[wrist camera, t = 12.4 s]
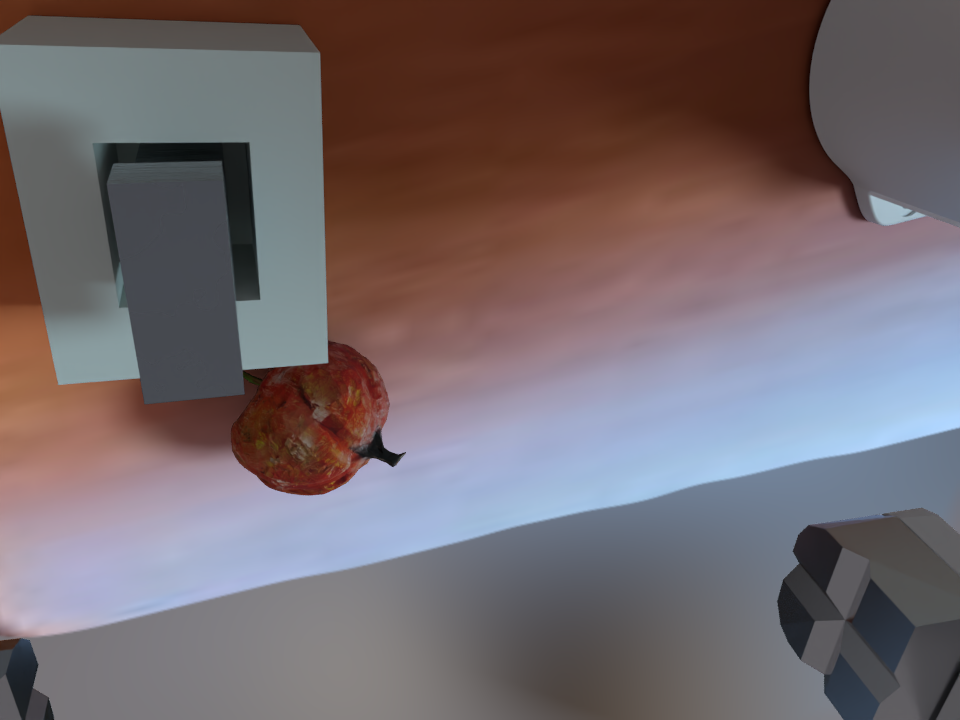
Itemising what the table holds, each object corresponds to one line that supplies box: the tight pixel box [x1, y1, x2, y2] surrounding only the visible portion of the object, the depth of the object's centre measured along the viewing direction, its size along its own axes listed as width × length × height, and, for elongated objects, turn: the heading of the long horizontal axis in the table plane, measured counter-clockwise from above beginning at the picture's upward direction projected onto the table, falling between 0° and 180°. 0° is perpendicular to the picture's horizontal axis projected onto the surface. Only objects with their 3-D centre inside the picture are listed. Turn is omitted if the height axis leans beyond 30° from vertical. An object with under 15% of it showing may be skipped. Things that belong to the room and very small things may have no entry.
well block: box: [0, 16, 328, 385], centre depth 32 cm, size 10×12×7 cm
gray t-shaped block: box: [107, 142, 245, 404], centre depth 29 cm, size 3×7×12 cm, turn 177°
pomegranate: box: [231, 341, 406, 495], centre depth 38 cm, size 7×7×10 cm
